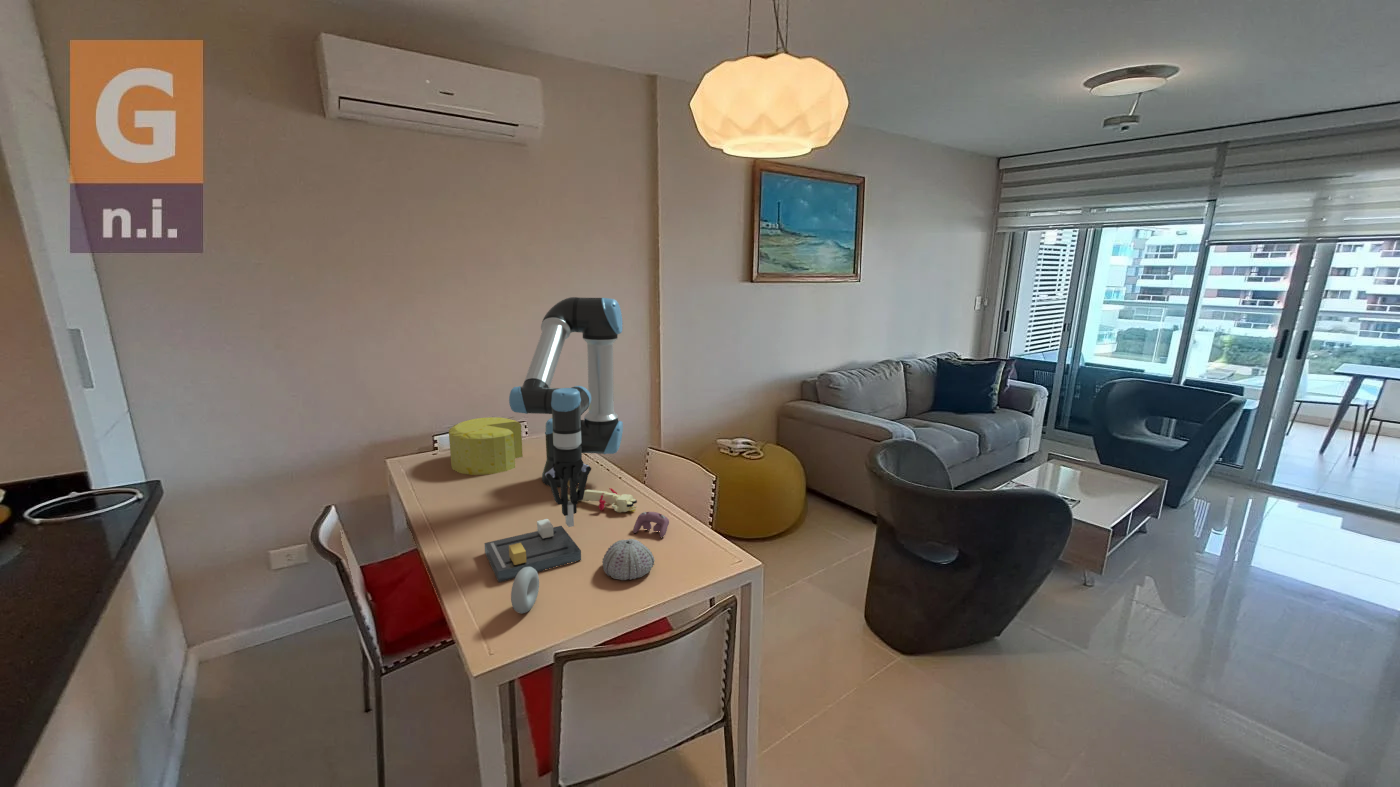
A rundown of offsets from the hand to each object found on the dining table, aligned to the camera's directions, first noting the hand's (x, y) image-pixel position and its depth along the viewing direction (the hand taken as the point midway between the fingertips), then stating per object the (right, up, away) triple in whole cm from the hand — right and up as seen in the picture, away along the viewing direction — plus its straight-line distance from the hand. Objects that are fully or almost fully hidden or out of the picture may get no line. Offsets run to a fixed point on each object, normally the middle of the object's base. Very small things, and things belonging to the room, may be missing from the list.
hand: (569, 524), depth 158 cm
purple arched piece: (+23, -4, +6) cm, 24 cm away
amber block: (-9, -5, -17) cm, 20 cm away
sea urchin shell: (+18, -9, -14) cm, 25 cm away
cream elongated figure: (+5, 0, +23) cm, 23 cm away
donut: (-3, -12, -31) cm, 34 cm away
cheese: (-45, +10, +58) cm, 74 cm away
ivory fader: (-6, -2, -3) cm, 7 cm away
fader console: (-8, -6, -9) cm, 14 cm away
